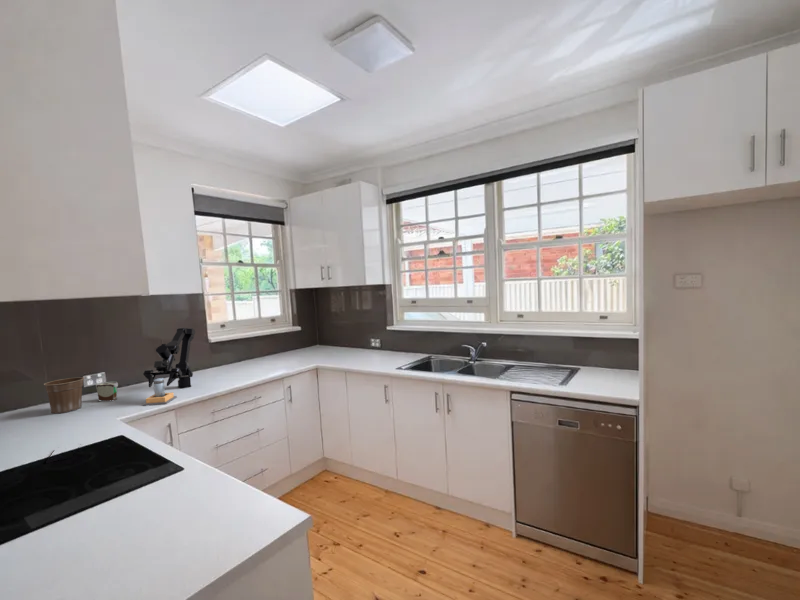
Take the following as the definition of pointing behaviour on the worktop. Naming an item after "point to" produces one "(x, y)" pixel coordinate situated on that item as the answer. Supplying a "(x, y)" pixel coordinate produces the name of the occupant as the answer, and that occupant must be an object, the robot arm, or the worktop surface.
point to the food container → (107, 391)
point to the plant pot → (65, 394)
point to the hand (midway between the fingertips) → (158, 386)
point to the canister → (159, 387)
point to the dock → (160, 399)
